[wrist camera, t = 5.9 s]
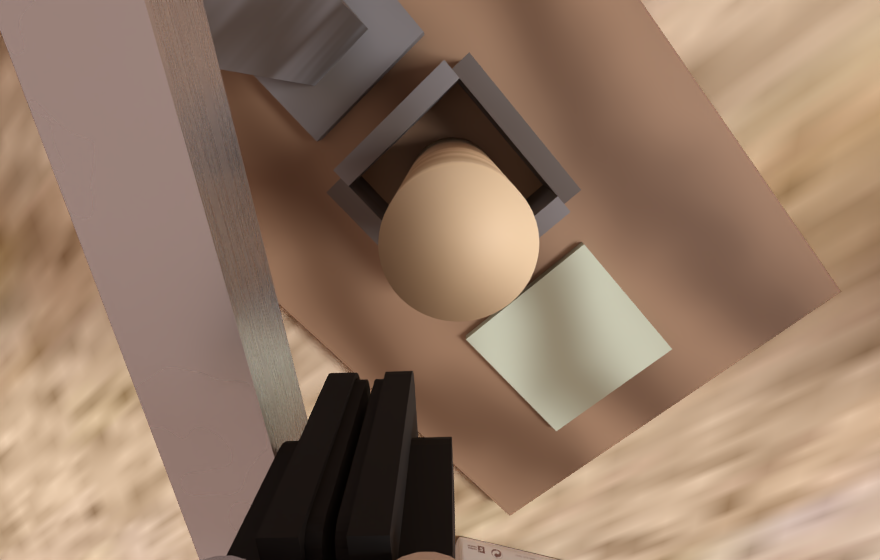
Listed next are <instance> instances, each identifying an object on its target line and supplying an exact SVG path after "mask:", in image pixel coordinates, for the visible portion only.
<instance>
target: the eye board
mask: <svg viewBox="0 0 880 560" xmlns="http://www.w3.org/2000/svg"><path fill="white" fill-rule="evenodd" d="M203 4H204V8H205V12H206V16H207V20H208V24H209V28H210V32H211V36H212V40H213V44H214V48H215V52H216V56H217V60H218V64H219V68H220V72H221V76H222V80H223V84H224V88H225V92H226V96H227V100H228V104H229V108H230V112H231V116H232V120H233V124H234V128H235V132H236V136H237V140H238V144H239V148H240V152H241V156H242V160H243V164H244V168H245V172H246V176H247V180H248V184H249V188H250V192H251V196H252V200H253V204H254V208H255V212H256V216H257V220H258V224H259V228H260V232H261V236H262V240H263V244H264V248H265V252H266V256H267V260H268V264H269V268H270V272H271V276H272V280H273V284H274V288H275V292H276V296H277V300H278V303H279V304H280V305H281V306H282V307H283V308H284V309H285V310H286V311H287V312H288V313H290V314H291V315H292V316H293V317H294V318H295V319H296V320H297V321H298V322H299V323H300V324H301V325H303V326H304V327H305V328H306V329H307V330H308V331H309V332H310V333H311V334H312V335H313V336H315V337H316V338H317V339H318V340H319V341H320V342H321V343H322V344H323V345H324V346H325V347H327V348H328V349H329V350H330V351H331V352H332V353H333V354H334V355H335V356H336V357H337V358H339V359H340V360H341V361H342V362H343V363H344V364H345V365H346V366H347V367H348V368H349V369H351V370H352V371H353V372H354V373H356V372H357V373H358V374H359V377H360V379H361V380H364V379H368V381H369V386H370V388H371V389H372V388H373V384H374V381H375V379H384V375H385V372H389V371H413V373H414V382H415V397H416V411H417V426H418V432H419V433H420V434H421V435H422V436H424V437H452V448H453V464H454V465H455V466H456V467H457V468H458V469H459V470H461V471H462V472H463V473H464V474H465V475H466V476H467V477H468V478H469V479H470V480H471V481H473V482H474V483H475V484H476V485H477V486H478V487H479V488H480V489H481V490H482V491H483V492H485V493H486V494H487V495H488V496H489V497H490V498H491V499H492V500H493V501H494V502H495V503H497V504H498V505H499V506H500V507H501V508H502V509H503V510H504V511H505V512H506V513H507V514H509V515H512V514H513V513H514V512H516V511H517V510H519V509H520V508H522V507H523V506H525V505H526V504H528V503H529V502H531V501H532V500H534V499H535V498H537V497H538V496H540V495H541V494H543V493H544V492H546V491H547V490H548V489H550V488H551V487H553V486H554V485H556V484H557V483H559V482H560V481H562V480H563V479H565V478H566V477H568V476H569V475H571V474H572V473H574V472H575V471H577V470H578V469H580V468H581V467H583V466H584V465H585V464H587V463H588V462H590V461H591V460H593V459H594V458H596V457H597V456H599V455H600V454H602V453H603V452H605V451H606V450H608V449H609V448H611V447H612V446H614V445H615V444H617V443H618V442H619V441H621V440H622V439H624V438H625V437H627V436H628V435H630V434H631V433H633V432H634V431H636V430H637V429H639V428H640V427H642V426H643V425H645V424H646V423H648V422H649V421H651V420H652V419H653V418H655V417H656V416H658V415H659V414H661V413H662V412H664V411H665V410H667V409H668V408H670V407H671V406H673V405H674V404H676V403H677V402H679V401H680V400H682V399H683V398H685V397H686V396H688V395H689V394H690V393H692V392H693V391H695V390H696V389H698V388H699V387H701V386H702V385H704V384H705V383H707V382H708V381H710V380H711V379H713V378H714V377H716V376H717V375H719V374H720V373H722V372H723V371H724V370H726V369H727V368H729V367H730V366H732V365H733V364H735V363H736V362H738V361H739V360H741V359H742V358H744V357H745V356H747V355H748V354H750V353H751V352H753V351H754V350H756V349H757V348H758V347H760V346H761V345H763V344H764V343H766V342H767V341H769V340H770V339H772V338H773V337H775V336H776V335H778V334H779V333H781V332H782V331H784V330H785V329H787V328H788V327H790V326H791V325H793V324H794V323H795V322H797V321H798V320H800V319H801V318H803V317H804V316H806V315H807V314H809V313H810V312H812V311H813V310H815V309H816V308H818V307H819V306H821V305H822V304H824V303H825V302H827V301H828V300H829V299H831V298H832V297H834V296H835V295H837V294H838V293H840V292H841V291H840V289H839V288H838V286H837V285H836V283H835V282H834V280H833V279H832V278H831V276H830V275H829V273H828V272H827V270H826V269H825V267H824V266H823V264H822V263H821V262H820V260H819V259H818V257H817V256H816V254H815V253H814V251H813V250H812V248H811V247H810V246H809V244H808V243H807V241H806V240H805V238H804V237H803V235H802V234H801V233H800V231H799V230H798V228H797V227H796V225H795V224H794V222H793V221H792V219H791V218H790V217H789V215H788V214H787V212H786V211H785V209H784V208H783V206H782V205H781V204H780V202H779V201H778V199H777V198H776V196H775V195H774V193H773V192H772V190H771V189H770V188H769V186H768V185H767V183H766V182H765V180H764V179H763V177H762V176H761V175H760V173H759V172H758V170H757V169H756V167H755V166H754V164H753V163H752V161H751V160H750V159H749V157H748V156H747V154H746V153H745V151H744V150H743V148H742V147H741V145H740V144H739V143H738V141H737V140H736V138H735V137H734V135H733V134H732V132H731V131H730V130H729V128H728V127H727V125H726V124H725V122H724V121H723V119H722V118H721V116H720V115H719V114H718V112H717V111H716V109H715V108H714V106H713V105H712V103H711V102H710V101H709V99H708V98H707V96H706V95H705V93H704V92H703V90H702V89H701V87H700V86H699V85H698V83H697V82H696V80H695V79H694V77H693V76H692V74H691V73H690V72H689V70H688V69H687V67H686V66H685V64H684V63H683V61H682V60H681V58H680V57H679V56H678V54H677V53H676V51H675V50H674V48H673V47H672V45H671V44H670V42H669V41H668V40H667V38H666V37H665V35H664V34H663V32H662V31H661V29H660V28H659V27H658V25H657V24H656V22H655V21H654V19H653V18H652V16H651V15H650V13H649V12H648V11H647V9H646V8H645V6H644V5H643V3H642V2H641V0H203ZM449 137H456V138H462V139H466V140H468V141H471V142H472V143H474V144H476V145H477V146H478V147H480V148H481V149H482V150H483V151H484V153H485V154H486V155H487V156H488V157H489V158H490V159H491V160H492V162H493V163H494V164H495V165H496V166H497V167H498V168H499V169H500V171H501V172H502V173H503V174H504V175H505V176H506V177H507V178H508V180H509V181H510V182H511V183H512V184H513V185H514V186H515V187H516V189H517V190H518V191H519V192H520V193H521V194H522V196H523V197H524V198H525V200H526V201H527V202H528V204H529V206H530V208H531V210H532V212H533V214H534V217H535V220H536V223H537V227H538V232H539V254H538V259H537V263H536V266H535V269H534V272H533V274H532V276H531V278H530V280H529V282H528V284H527V285H526V287H525V288H524V290H523V291H522V292H521V293H520V294H519V295H518V297H516V298H515V299H514V300H513V301H512V302H511V303H510V304H508V305H507V306H506V307H504V308H503V309H501V310H499V311H498V312H496V313H494V314H492V315H489V316H487V317H484V318H480V319H476V320H471V321H461V322H453V321H444V320H440V319H435V318H432V317H430V316H427V315H424V314H422V313H420V312H418V311H417V310H415V309H413V308H412V307H411V306H409V305H408V304H407V303H405V302H404V301H403V300H402V299H401V298H400V297H399V296H398V295H397V294H396V292H395V291H394V290H393V289H392V287H391V286H390V284H389V283H388V281H387V279H386V277H385V275H384V272H383V269H382V266H381V263H380V258H379V250H378V239H379V231H380V226H381V222H382V220H383V217H384V214H385V212H386V210H387V208H388V206H389V204H390V203H391V201H392V199H393V198H394V196H395V194H396V193H397V191H398V189H399V187H400V186H401V184H402V182H403V181H404V179H405V177H406V176H407V174H408V172H409V170H410V169H411V167H412V165H413V164H414V162H415V160H416V158H417V157H418V155H419V154H420V153H421V152H422V150H423V149H424V148H426V147H427V146H428V145H429V144H431V143H433V142H435V141H437V140H440V139H443V138H449Z"/></svg>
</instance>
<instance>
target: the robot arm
mask: <svg viewBox="0 0 880 560" xmlns="http://www.w3.org/2000/svg"><path fill="white" fill-rule="evenodd" d="M203 560H455V506H454V473H453V448H452V437H419V438H418V426H417V411H416V397H415V382H414V373H413V371H389V372H385V375H384V379H375V381H374V384H373V388H372V391H371V394H370V386H369V381H368V379H364V380H360V377H359V374H358V373H357V372H356V373H330V374H329V375H328V377H327V379H326V381H325V383H324V385H323V388H322V390H321V392H320V394H319V397H318V399H317V401H316V403H315V406H314V408H313V410H312V412H311V415H310V417H309V419H308V421H307V424H306V426H305V428H304V430H303V432H302V435H301V437H300V439H299V441H285V442H284V443H283V444H282V445H281V447H280V448H279V450H278V452H277V454H276V456H275V458H274V460H273V462H272V464H271V466H270V468H269V470H268V472H267V474H266V476H265V478H264V480H263V482H262V484H261V486H260V488H259V490H258V492H257V494H256V496H255V498H254V500H253V502H252V504H251V507H250V509H249V511H248V513H247V515H246V517H245V519H244V521H243V523H242V525H241V527H240V529H239V531H238V533H237V535H236V537H235V539H234V541H233V543H232V545H231V547H230V549H229V551H228V553H227V555H226V556H214V557H210V558H207V559H203Z"/></svg>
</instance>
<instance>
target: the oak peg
mask: <svg viewBox="0 0 880 560" xmlns="http://www.w3.org/2000/svg"><path fill="white" fill-rule="evenodd" d="M378 250H379V258H380V263H381V266H382V269H383V272H384V275H385V277H386V279H387V281H388V283H389V284H390V286H391V287H392V289H393V290H394V291H395V292H396V294H397V295H398V296H399V297H400V298H401V299H402V300H403V301H404V302H405V303H407V304H408V305H409V306H411V307H412V308H413V309H415V310H417V311H418V312H420V313H422V314H424V315H427V316H430V317H432V318H435V319H440V320H444V321H453V322H461V321H471V320H476V319H480V318H484V317H487V316H489V315H492V314H494V313H496V312H498V311H499V310H501V309H503V308H504V307H506V306H507V305H508V304H510V303H511V302H512V301H513V300H514V299H515V298H516V297H518V295H519V294H520V293H521V292H522V291H523V290H524V288H525V287H526V285H527V284H528V282H529V280H530V278H531V276H532V274H533V272H534V269H535V266H536V263H537V259H538V254H539V232H538V227H537V223H536V220H535V217H534V214H533V212H532V210H531V208H530V206H529V204H528V202H527V201H526V200H525V198H524V197H523V196H522V194H521V193H520V192H519V191H518V190H517V189H516V187H515V186H514V185H513V184H512V183H511V182H510V181H509V180H508V178H507V177H506V176H505V175H504V174H503V173H502V172H501V171H500V169H499V168H498V167H497V166H496V165H495V164H494V163H493V162H492V160H491V159H490V158H489V157H488V156H487V155H486V154H485V153H484V151H483V150H482V149H481V148H480V147H478V146H477V145H476V144H474V143H472V142H471V141H468V140H466V139H462V138H456V137H449V138H443V139H440V140H437V141H435V142H433V143H431V144H429V145H428V146H427V147H426V148H424V149H423V150H422V152H421V153H420V154H419V155H418V157H417V158H416V160H415V162H414V164H413V165H412V167H411V169H410V170H409V172H408V174H407V176H406V177H405V179H404V181H403V182H402V184H401V186H400V187H399V189H398V191H397V193H396V194H395V196H394V198H393V199H392V201H391V203H390V204H389V206H388V208H387V210H386V212H385V214H384V217H383V220H382V222H381V226H380V231H379V239H378Z"/></svg>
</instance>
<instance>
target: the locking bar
mask: <svg viewBox="0 0 880 560" xmlns="http://www.w3.org/2000/svg"><path fill="white" fill-rule="evenodd" d="M0 31H1V34H2V36H3V39H4V42H5V44H6V47H7V50H8V52H9V55H10V58H11V60H12V63H13V66H14V68H15V71H16V74H17V76H18V79H19V82H20V84H21V87H22V90H23V92H24V95H25V97H26V100H27V103H28V105H29V108H30V111H31V113H32V116H33V119H34V121H35V124H36V127H37V129H38V132H39V135H40V137H41V140H42V143H43V145H44V148H45V151H46V153H47V156H48V159H49V161H50V164H51V167H52V169H53V172H54V174H55V177H56V180H57V182H58V185H59V188H60V190H61V193H62V196H63V198H64V201H65V204H66V206H67V209H68V212H69V214H70V217H71V220H72V222H73V225H74V228H75V230H76V233H77V236H78V238H79V241H80V243H81V246H82V249H83V251H84V254H85V257H86V259H87V262H88V265H89V267H90V270H91V273H92V275H93V278H94V281H95V283H96V286H97V289H98V291H99V294H100V297H101V299H102V302H103V305H104V307H105V310H106V313H107V315H108V318H109V320H110V323H111V326H112V328H113V331H114V334H115V336H116V339H117V342H118V344H119V347H120V350H121V352H122V355H123V358H124V360H125V363H126V366H127V368H128V371H129V374H130V376H131V379H132V382H133V384H134V387H135V389H136V392H137V395H138V397H139V400H140V403H141V405H142V408H143V411H144V413H145V416H146V419H147V421H148V424H149V427H150V429H151V432H152V435H153V437H154V440H155V443H156V445H157V448H158V451H159V453H160V456H161V458H162V461H163V464H164V466H165V469H166V472H167V474H168V477H169V480H170V482H171V485H172V488H173V490H174V493H175V496H176V498H177V501H178V504H179V506H180V509H181V512H182V514H183V517H184V520H185V522H186V525H187V528H188V530H189V533H190V535H191V538H192V541H193V543H194V546H195V549H196V551H197V554H198V557H199V559H200V560H203V559H207V558H210V557H214V556H226V555H227V553H228V551H229V549H230V547H231V545H232V543H233V541H234V539H235V537H236V535H237V533H238V531H239V529H240V527H241V525H242V523H243V521H244V519H245V517H246V515H247V513H248V511H249V509H250V507H251V504H252V502H253V500H254V498H255V496H256V494H257V492H258V490H259V488H260V486H261V484H262V482H263V480H264V478H265V476H266V474H267V472H268V470H269V468H270V466H271V464H272V462H273V460H274V458H275V456H276V454H277V452H278V450H279V448H280V447H281V445H282V444H283V443H284V442H285V441H299V439H300V437H301V435H302V432H303V430H304V428H305V426H306V424H307V421H308V420H307V416H306V412H305V408H304V404H303V400H302V396H301V392H300V388H299V384H298V380H297V376H296V372H295V368H294V364H293V360H292V356H291V352H290V348H289V344H288V340H287V336H286V332H285V328H284V324H283V320H282V316H281V312H280V308H279V304H278V300H277V296H276V292H275V288H274V284H273V280H272V276H271V272H270V268H269V264H268V260H267V256H266V252H265V248H264V244H263V240H262V236H261V232H260V228H259V224H258V220H257V216H256V212H255V208H254V204H253V200H252V196H251V192H250V188H249V184H248V180H247V176H246V172H245V168H244V164H243V160H242V156H241V152H240V148H239V144H238V140H237V136H236V132H235V128H234V124H233V120H232V116H231V112H230V108H229V104H228V100H227V96H226V92H225V88H224V84H223V80H222V76H221V72H220V68H219V64H218V60H217V56H216V52H215V48H214V44H213V40H212V36H211V32H210V28H209V24H208V20H207V16H206V12H205V8H204V4H203V0H0Z"/></svg>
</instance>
